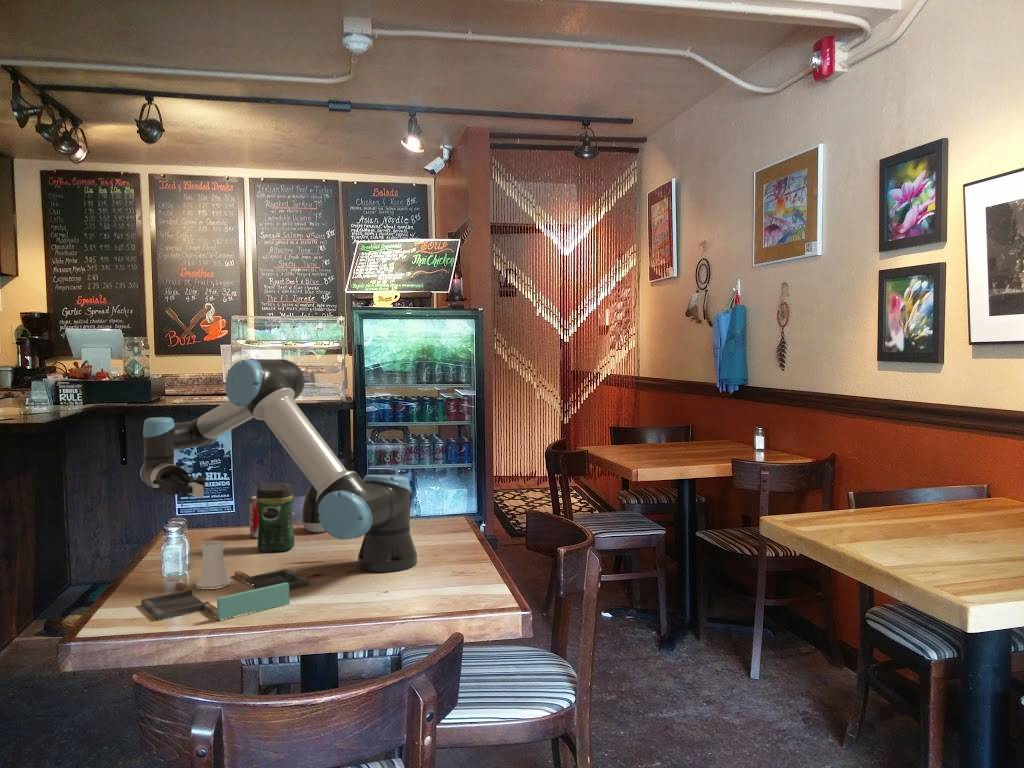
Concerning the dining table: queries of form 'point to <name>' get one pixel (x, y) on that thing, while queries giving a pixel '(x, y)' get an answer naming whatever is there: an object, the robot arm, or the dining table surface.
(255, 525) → the soda can
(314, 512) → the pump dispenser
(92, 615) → the dining table surface
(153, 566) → the dining table surface
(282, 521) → the coffee jar
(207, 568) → the vase
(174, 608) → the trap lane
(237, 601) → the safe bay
